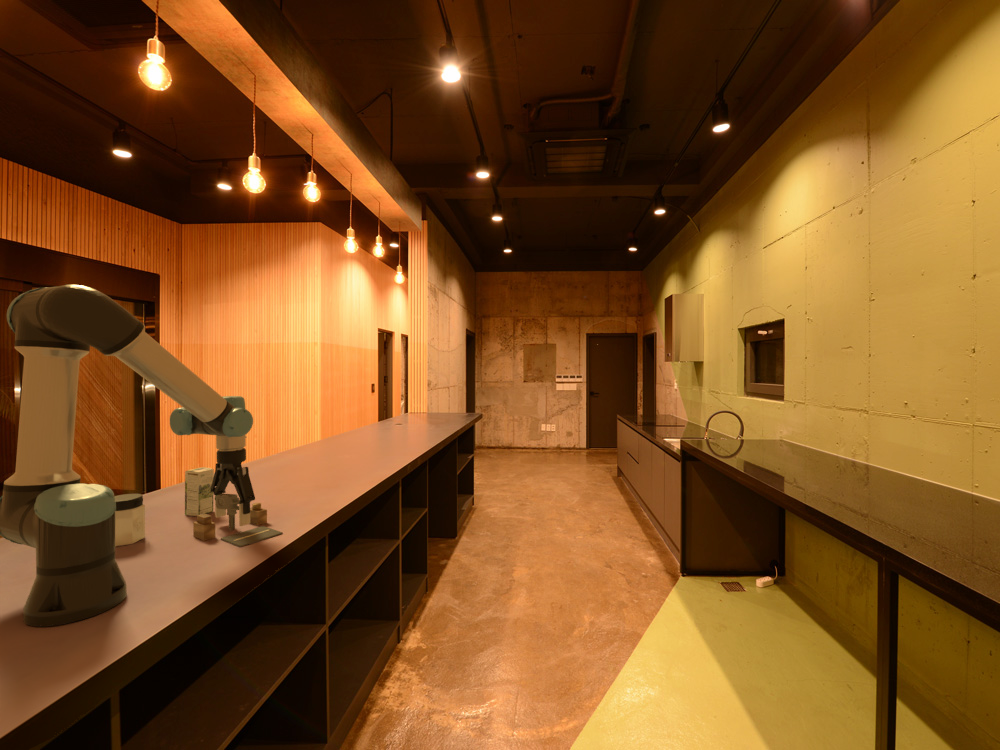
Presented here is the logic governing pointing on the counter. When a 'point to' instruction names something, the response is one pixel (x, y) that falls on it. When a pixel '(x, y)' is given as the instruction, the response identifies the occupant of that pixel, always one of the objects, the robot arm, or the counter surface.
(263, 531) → the mat
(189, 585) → the counter surface
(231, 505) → the mechanical component
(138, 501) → the jar
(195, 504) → the syrup box
